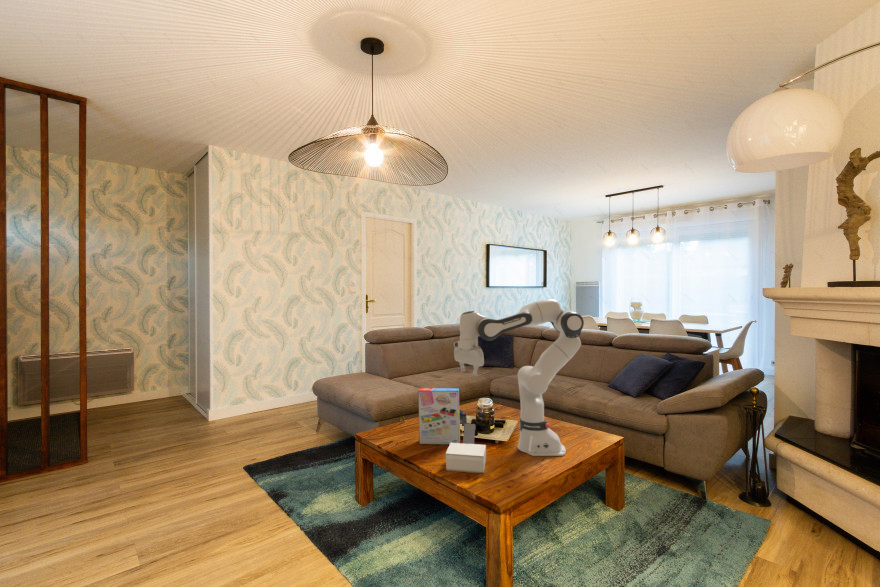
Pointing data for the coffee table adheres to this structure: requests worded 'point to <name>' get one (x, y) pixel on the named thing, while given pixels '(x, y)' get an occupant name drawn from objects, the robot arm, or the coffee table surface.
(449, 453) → the lid
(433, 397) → the game box
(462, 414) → the vhs cassette tape
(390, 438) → the coffee table surface
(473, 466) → the mailer box
